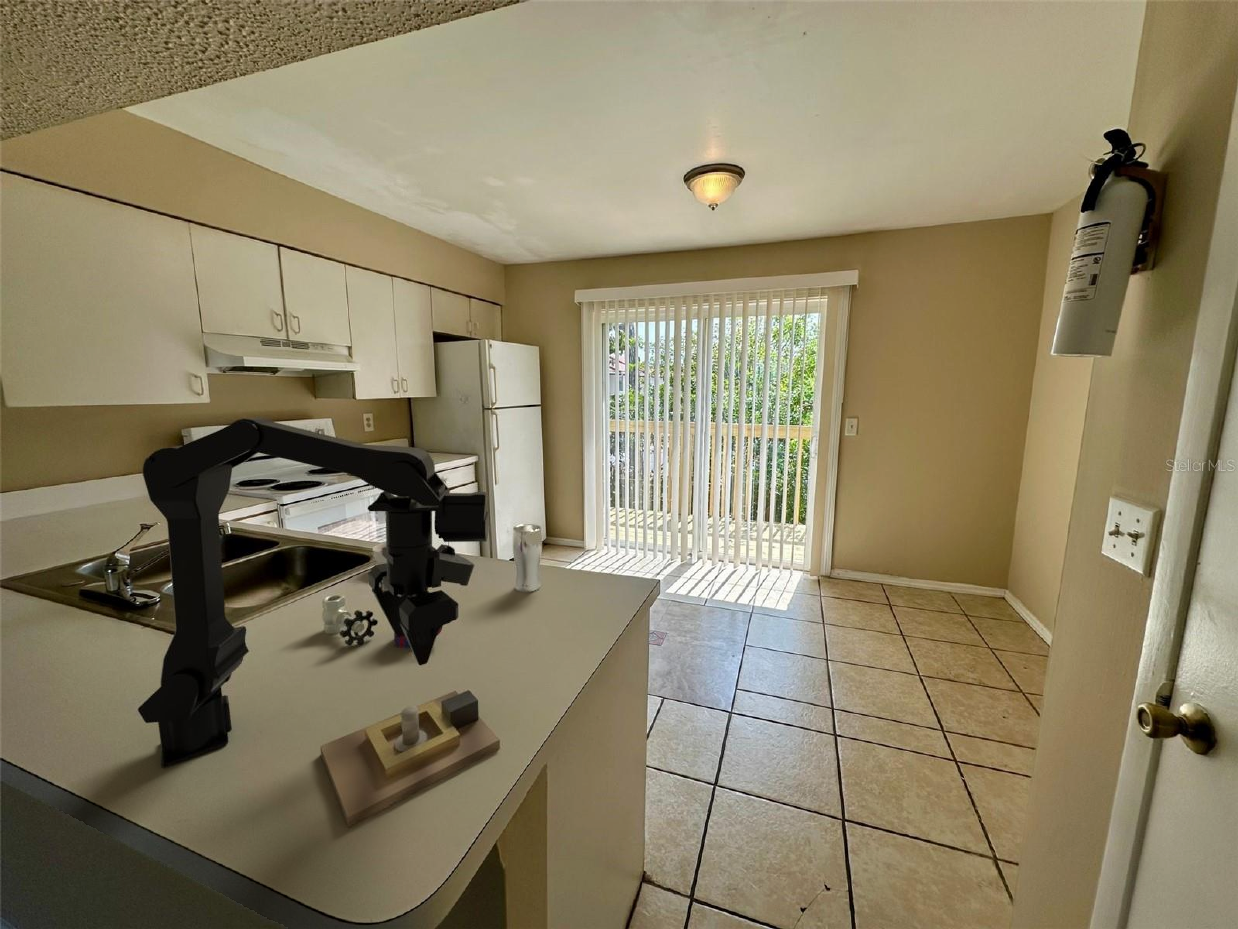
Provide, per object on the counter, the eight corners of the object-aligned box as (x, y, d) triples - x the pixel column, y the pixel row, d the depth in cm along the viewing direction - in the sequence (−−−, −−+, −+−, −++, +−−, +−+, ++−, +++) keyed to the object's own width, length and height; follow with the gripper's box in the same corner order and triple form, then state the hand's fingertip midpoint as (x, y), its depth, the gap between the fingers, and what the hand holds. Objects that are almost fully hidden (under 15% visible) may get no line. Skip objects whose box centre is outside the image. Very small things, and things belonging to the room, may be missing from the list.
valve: (312, 633, 93) (343, 652, 86) (309, 601, 92) (340, 618, 85) (347, 620, 98) (379, 638, 92) (345, 590, 97) (377, 605, 91)
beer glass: (507, 591, 114) (506, 530, 112) (521, 580, 121) (521, 522, 119) (534, 595, 112) (533, 533, 110) (547, 584, 119) (546, 525, 117)
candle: (387, 578, 121) (386, 554, 120) (366, 571, 125) (365, 548, 124) (418, 568, 128) (417, 545, 127) (398, 561, 133) (397, 539, 132)
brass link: (386, 780, 56) (385, 757, 56) (365, 739, 63) (364, 718, 63) (488, 731, 65) (488, 710, 64) (460, 699, 72) (459, 680, 71)
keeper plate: (348, 827, 52) (344, 780, 51) (321, 754, 62) (317, 714, 61) (499, 747, 63) (499, 708, 63) (455, 697, 74) (454, 663, 73)
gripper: (496, 549, 63) (495, 659, 65) (442, 518, 77) (442, 610, 79) (409, 566, 56) (411, 689, 58) (366, 529, 70) (368, 630, 72)
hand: (411, 649), depth 67 cm, fingers open, 9 cm apart
